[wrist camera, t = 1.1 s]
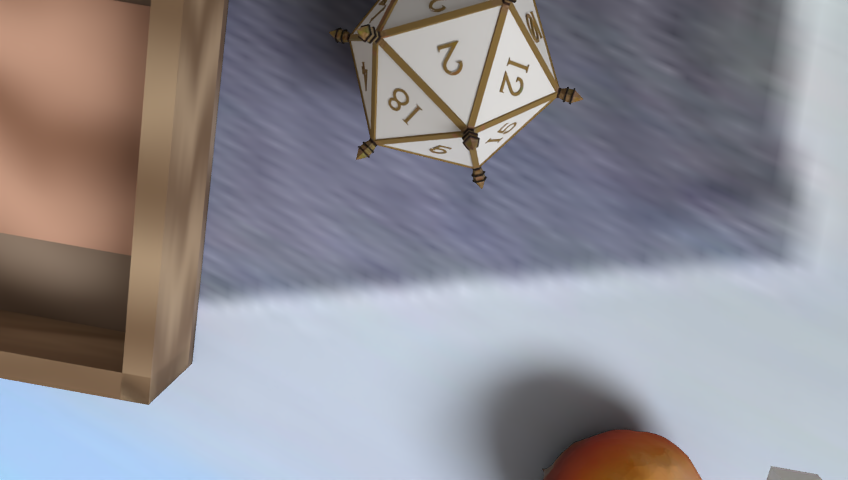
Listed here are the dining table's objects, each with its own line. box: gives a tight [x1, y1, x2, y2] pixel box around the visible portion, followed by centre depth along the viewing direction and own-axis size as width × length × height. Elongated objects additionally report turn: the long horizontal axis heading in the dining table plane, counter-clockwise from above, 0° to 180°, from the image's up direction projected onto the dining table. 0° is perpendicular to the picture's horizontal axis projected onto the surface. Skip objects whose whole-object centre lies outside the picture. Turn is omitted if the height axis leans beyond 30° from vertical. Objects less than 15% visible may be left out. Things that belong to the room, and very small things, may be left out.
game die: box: [329, 0, 583, 189], centre depth 24 cm, size 9×8×10 cm
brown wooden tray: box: [0, 0, 229, 405], centre depth 27 cm, size 18×16×4 cm
